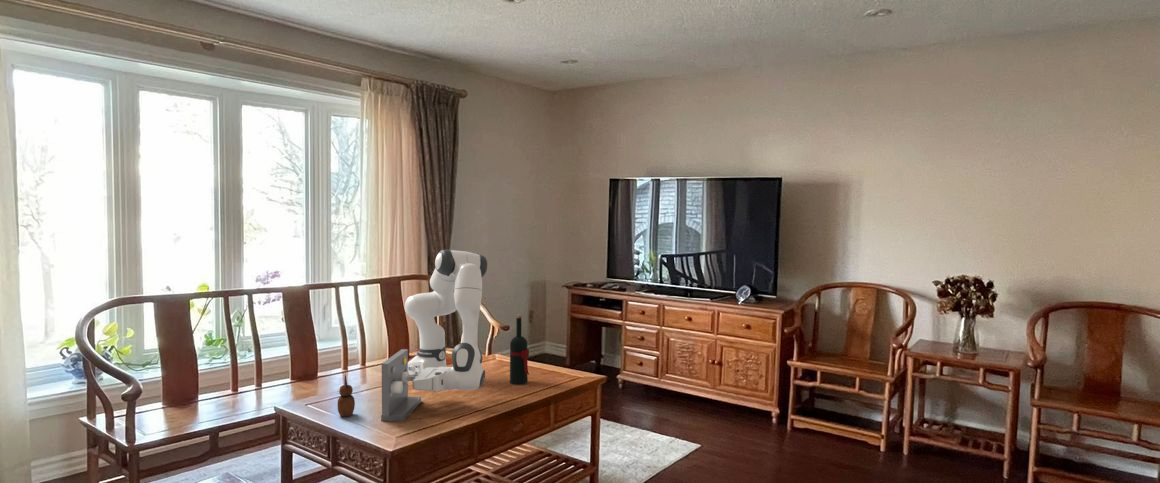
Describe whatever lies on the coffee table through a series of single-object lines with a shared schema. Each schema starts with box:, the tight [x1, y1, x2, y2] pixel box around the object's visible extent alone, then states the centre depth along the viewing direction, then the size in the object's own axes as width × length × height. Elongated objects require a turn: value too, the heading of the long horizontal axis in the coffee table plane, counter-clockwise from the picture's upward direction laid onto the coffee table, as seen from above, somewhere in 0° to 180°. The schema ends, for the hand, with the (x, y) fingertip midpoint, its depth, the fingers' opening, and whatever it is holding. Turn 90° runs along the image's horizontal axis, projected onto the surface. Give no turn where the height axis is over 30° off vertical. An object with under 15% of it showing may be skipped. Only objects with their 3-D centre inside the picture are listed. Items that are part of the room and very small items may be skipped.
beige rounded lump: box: [402, 372, 409, 384], centre depth 257 cm, size 3×4×4 cm
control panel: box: [380, 348, 422, 422], centre depth 250 cm, size 8×24×21 cm, turn 178°
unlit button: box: [391, 381, 403, 394], centre depth 243 cm, size 3×4×4 cm
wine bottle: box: [509, 314, 530, 386], centre depth 291 cm, size 8×10×30 cm
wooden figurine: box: [337, 374, 356, 418], centre depth 244 cm, size 7×6×15 cm
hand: (407, 377), depth 257 cm, fingers closed, pressing on beige rounded lump
